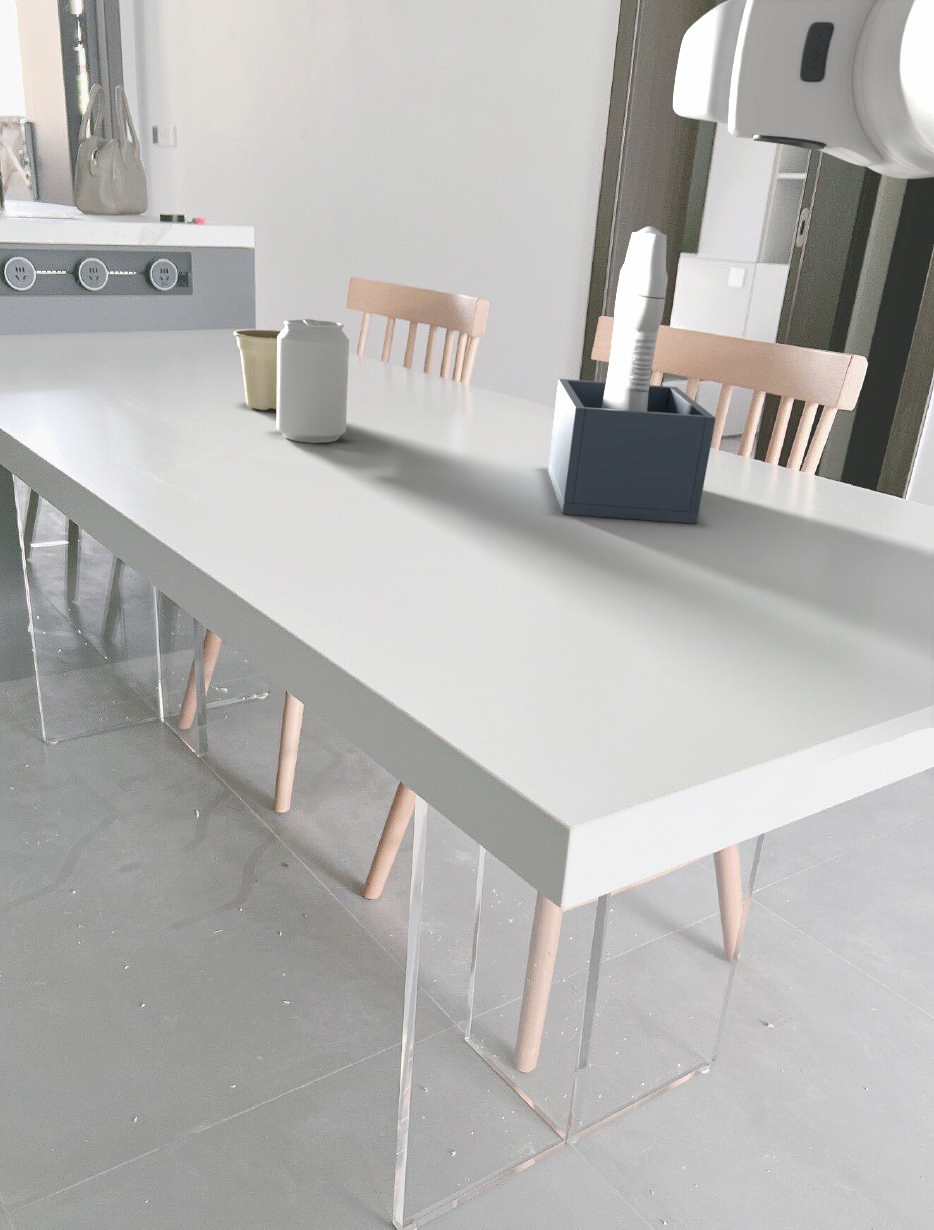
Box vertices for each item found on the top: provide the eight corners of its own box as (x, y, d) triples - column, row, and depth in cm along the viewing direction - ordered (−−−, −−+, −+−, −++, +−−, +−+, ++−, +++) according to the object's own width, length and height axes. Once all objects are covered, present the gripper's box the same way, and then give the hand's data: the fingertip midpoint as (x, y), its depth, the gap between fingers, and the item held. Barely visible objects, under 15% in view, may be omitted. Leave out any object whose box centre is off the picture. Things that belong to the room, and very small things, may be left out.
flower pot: (321, 406, 134) (323, 334, 131) (295, 417, 126) (296, 340, 122) (251, 398, 136) (252, 327, 133) (221, 408, 128) (221, 333, 124)
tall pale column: (578, 469, 104) (609, 223, 95) (618, 470, 105) (653, 226, 95) (607, 495, 95) (645, 225, 85) (651, 497, 95) (694, 228, 86)
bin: (662, 478, 107) (677, 386, 104) (696, 524, 91) (715, 417, 88) (547, 470, 108) (558, 378, 104) (562, 514, 92) (575, 407, 88)
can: (289, 445, 111) (291, 324, 106) (267, 431, 117) (268, 316, 112) (355, 443, 114) (360, 325, 109) (331, 429, 120) (334, 317, 115)
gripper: (1212, -6, 45) (1047, 43, 57) (724, -38, 45) (667, 18, 57) (1158, 162, 47) (1012, 174, 60) (698, 131, 48) (648, 149, 60)
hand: (840, 97), depth 59 cm, fingers open, 8 cm apart
